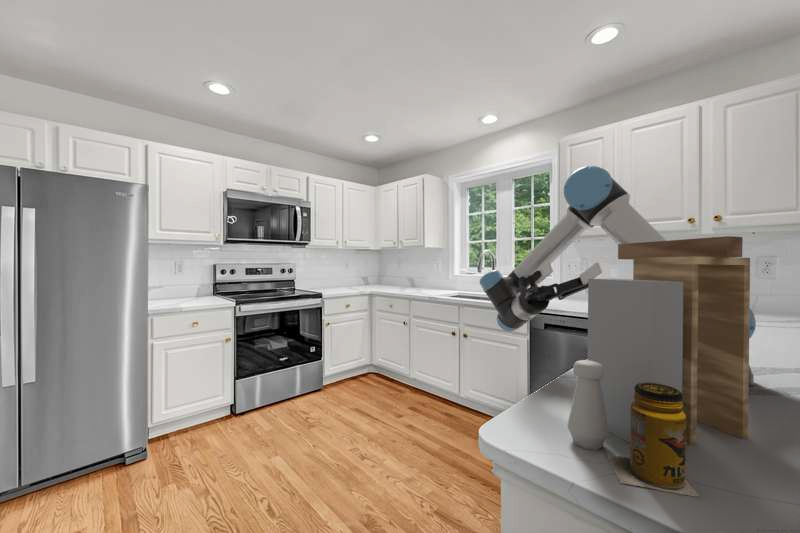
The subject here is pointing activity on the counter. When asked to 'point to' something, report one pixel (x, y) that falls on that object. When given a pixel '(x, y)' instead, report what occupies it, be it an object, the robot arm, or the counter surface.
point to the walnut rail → (683, 248)
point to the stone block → (634, 340)
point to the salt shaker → (588, 407)
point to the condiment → (656, 441)
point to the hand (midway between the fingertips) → (575, 266)
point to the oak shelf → (710, 337)
